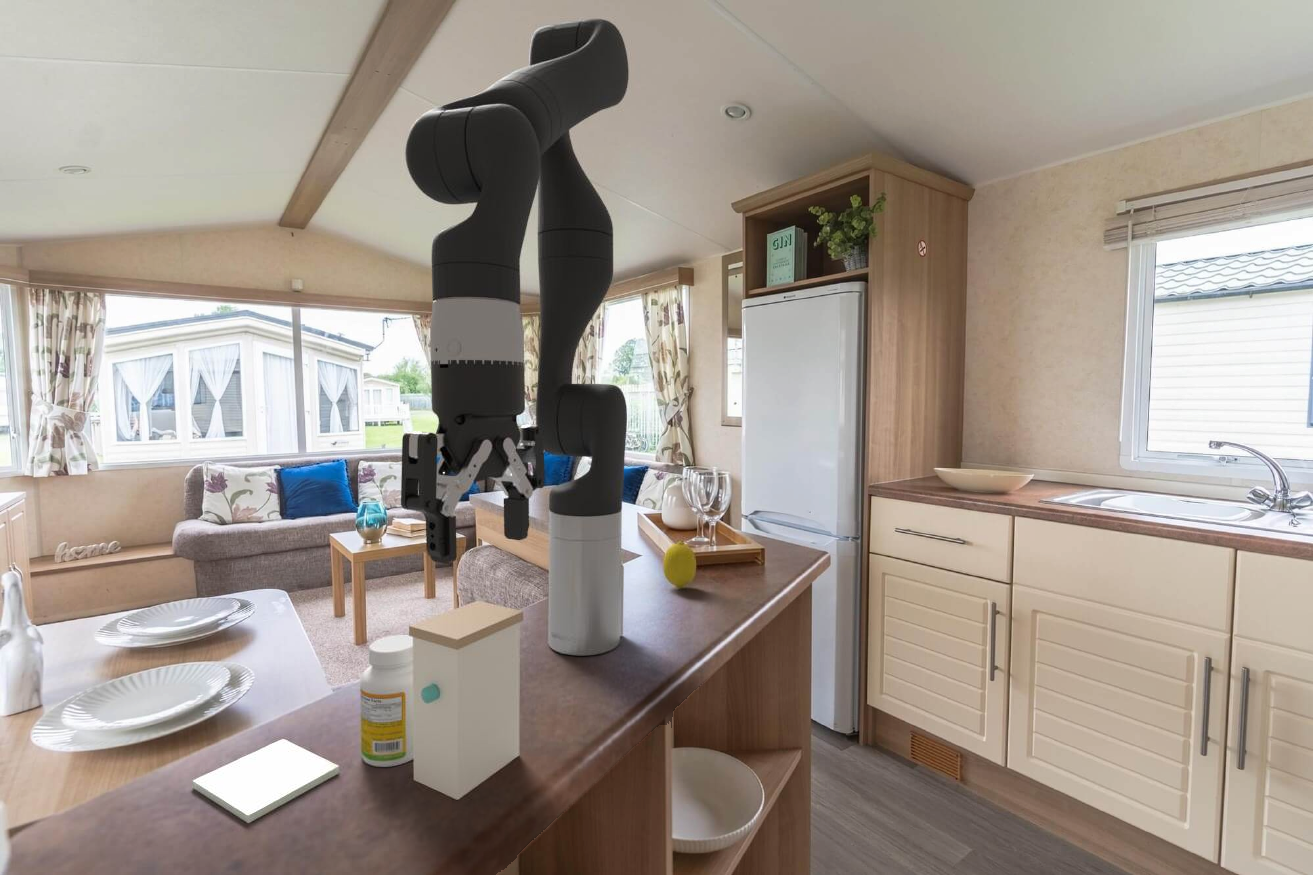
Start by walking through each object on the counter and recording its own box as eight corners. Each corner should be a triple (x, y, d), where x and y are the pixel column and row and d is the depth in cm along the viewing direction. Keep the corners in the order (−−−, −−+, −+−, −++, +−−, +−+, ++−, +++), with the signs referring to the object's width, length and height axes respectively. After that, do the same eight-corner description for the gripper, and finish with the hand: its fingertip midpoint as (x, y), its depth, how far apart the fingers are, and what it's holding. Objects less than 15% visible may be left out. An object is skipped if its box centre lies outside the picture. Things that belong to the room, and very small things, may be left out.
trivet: (283, 745, 54) (283, 738, 54) (339, 773, 50) (338, 765, 50) (192, 787, 48) (192, 780, 48) (248, 823, 44) (248, 815, 44)
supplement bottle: (408, 727, 58) (407, 626, 57) (439, 749, 54) (439, 641, 54) (349, 752, 53) (348, 643, 53) (379, 777, 50) (378, 661, 49)
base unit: (478, 737, 56) (478, 600, 55) (523, 754, 53) (524, 611, 53) (403, 784, 49) (402, 628, 48) (451, 806, 46) (451, 642, 46)
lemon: (696, 594, 99) (697, 545, 99) (662, 593, 100) (663, 545, 99) (694, 584, 105) (695, 538, 105) (662, 583, 105) (663, 537, 105)
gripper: (503, 363, 59) (505, 528, 60) (373, 355, 46) (380, 564, 48) (566, 361, 55) (567, 537, 57) (444, 352, 43) (449, 577, 44)
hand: (482, 549), depth 52 cm, fingers open, 8 cm apart
